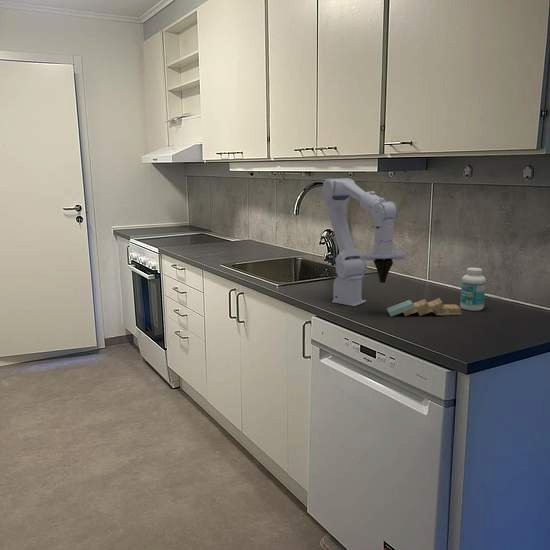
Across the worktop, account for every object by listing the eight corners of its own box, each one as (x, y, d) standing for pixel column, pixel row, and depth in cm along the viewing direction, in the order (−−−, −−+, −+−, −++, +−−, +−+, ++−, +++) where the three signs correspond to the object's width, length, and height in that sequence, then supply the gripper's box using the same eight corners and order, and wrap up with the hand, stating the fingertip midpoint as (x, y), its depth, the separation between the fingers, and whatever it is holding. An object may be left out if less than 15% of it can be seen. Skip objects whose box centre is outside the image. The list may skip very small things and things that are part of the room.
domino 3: (417, 311, 169) (442, 302, 167) (415, 307, 173) (439, 297, 172) (419, 316, 169) (443, 306, 167) (417, 311, 174) (441, 302, 172)
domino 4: (436, 308, 169) (461, 308, 169) (431, 304, 173) (455, 304, 174) (436, 313, 169) (460, 312, 169) (431, 309, 174) (455, 309, 174)
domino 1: (388, 312, 169) (412, 303, 168) (386, 308, 173) (409, 299, 172) (390, 316, 169) (414, 307, 168) (388, 312, 174) (411, 304, 173)
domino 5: (437, 312, 170) (461, 312, 170) (431, 309, 174) (455, 308, 175) (436, 317, 170) (461, 316, 171) (431, 313, 175) (455, 312, 175)
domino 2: (403, 311, 169) (427, 302, 168) (401, 307, 173) (424, 299, 172) (404, 316, 169) (429, 307, 168) (402, 312, 174) (426, 303, 172)
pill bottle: (455, 306, 180) (457, 267, 177) (472, 304, 182) (475, 266, 179) (470, 312, 173) (473, 271, 170) (488, 310, 175) (491, 269, 173)
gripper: (364, 242, 164) (363, 285, 167) (410, 241, 165) (408, 284, 168) (359, 239, 171) (358, 280, 173) (403, 238, 172) (401, 279, 175)
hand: (382, 282), depth 171 cm, fingers closed
